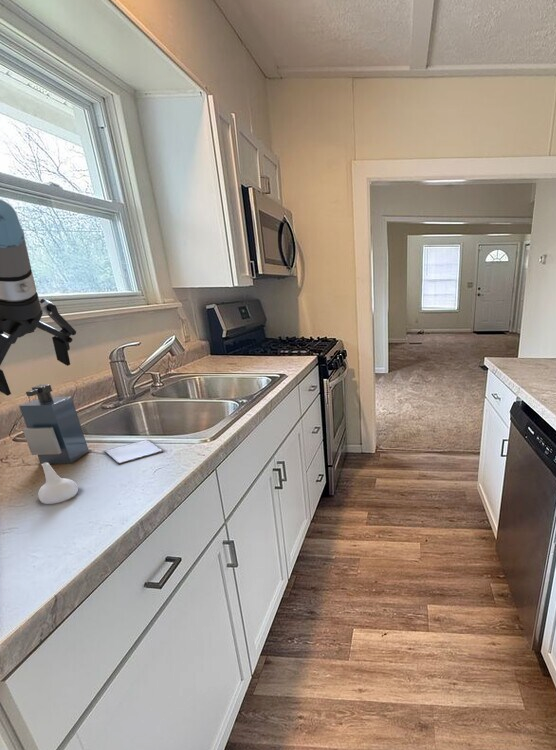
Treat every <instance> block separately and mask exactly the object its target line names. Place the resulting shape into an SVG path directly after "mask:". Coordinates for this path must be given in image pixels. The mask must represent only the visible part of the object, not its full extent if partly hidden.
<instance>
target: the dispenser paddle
mask: <svg viewBox="0 0 556 750" xmlns="http://www.w3.org/2000/svg"><path fill="white" fill-rule="evenodd" d="M21 431H22V433H23V436H24V438H25V441H26V443H27V446H28V449H29V451H30V455H32V456H38V455H47V454H60V453H61V449H60V447H59V444H58V441H57V438H56V435H55V432H54V429H53V427H32V428H27V427H23V428H22V429H21Z"/></svg>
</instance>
